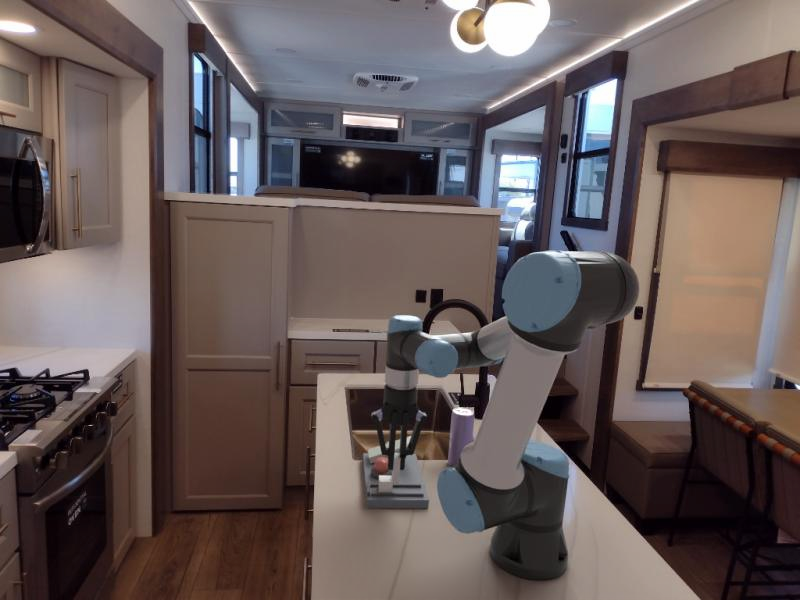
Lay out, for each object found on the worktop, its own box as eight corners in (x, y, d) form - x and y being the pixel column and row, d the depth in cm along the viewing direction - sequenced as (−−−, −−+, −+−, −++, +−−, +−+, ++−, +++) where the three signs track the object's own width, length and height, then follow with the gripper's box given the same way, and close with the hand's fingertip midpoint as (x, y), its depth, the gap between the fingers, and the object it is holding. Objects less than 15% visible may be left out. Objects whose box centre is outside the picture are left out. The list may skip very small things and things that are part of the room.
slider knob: (392, 493, 133) (392, 481, 132) (378, 493, 132) (379, 481, 132) (390, 487, 136) (391, 475, 135) (378, 487, 135) (378, 475, 135)
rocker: (415, 449, 147) (413, 442, 147) (370, 463, 147) (368, 457, 147) (413, 440, 152) (411, 434, 152) (369, 454, 152) (367, 449, 151)
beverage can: (471, 470, 151) (476, 416, 149) (448, 469, 151) (452, 414, 149) (469, 460, 157) (473, 407, 155) (447, 459, 157) (451, 406, 155)
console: (428, 508, 131) (430, 485, 130) (366, 508, 130) (367, 485, 129) (415, 460, 155) (416, 441, 154) (362, 460, 153) (363, 440, 152)
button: (389, 473, 140) (390, 463, 140) (374, 473, 140) (375, 463, 139) (388, 466, 144) (388, 457, 143) (373, 466, 143) (374, 457, 143)
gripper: (427, 379, 134) (420, 474, 138) (371, 378, 133) (366, 474, 137) (432, 390, 127) (425, 490, 131) (373, 389, 125) (367, 490, 130)
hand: (395, 482), depth 134 cm, fingers closed
